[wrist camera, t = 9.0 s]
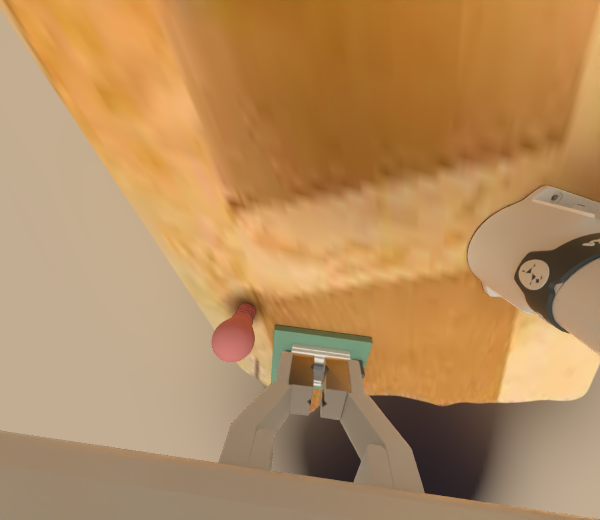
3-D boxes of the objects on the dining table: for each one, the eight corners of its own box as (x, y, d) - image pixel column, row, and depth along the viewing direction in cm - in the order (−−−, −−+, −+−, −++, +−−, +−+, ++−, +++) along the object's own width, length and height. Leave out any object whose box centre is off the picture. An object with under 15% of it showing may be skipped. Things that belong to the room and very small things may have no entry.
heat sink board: (371, 337, 49) (376, 356, 44) (355, 388, 56) (358, 409, 51) (275, 324, 49) (271, 342, 45) (272, 376, 56) (268, 396, 52)
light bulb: (239, 326, 50) (216, 374, 40) (224, 299, 48) (196, 344, 37) (269, 319, 49) (255, 368, 38) (256, 291, 46) (236, 335, 35)
